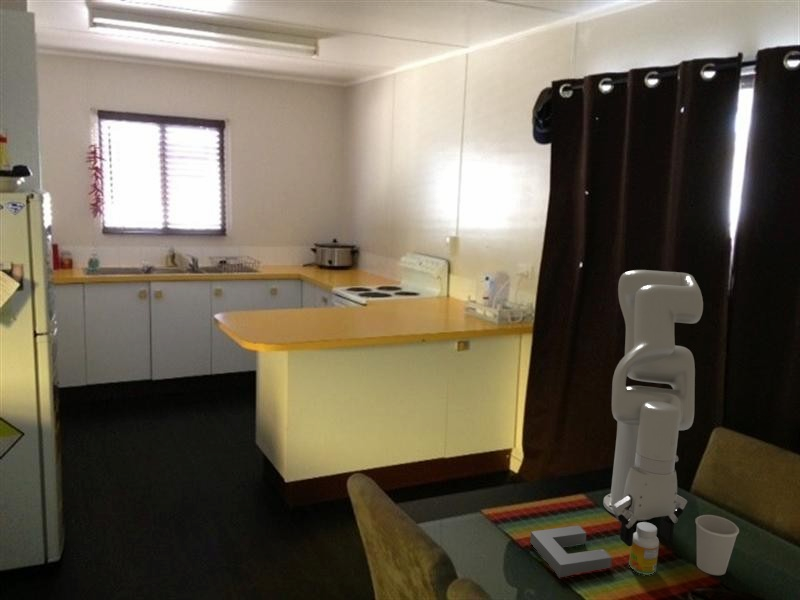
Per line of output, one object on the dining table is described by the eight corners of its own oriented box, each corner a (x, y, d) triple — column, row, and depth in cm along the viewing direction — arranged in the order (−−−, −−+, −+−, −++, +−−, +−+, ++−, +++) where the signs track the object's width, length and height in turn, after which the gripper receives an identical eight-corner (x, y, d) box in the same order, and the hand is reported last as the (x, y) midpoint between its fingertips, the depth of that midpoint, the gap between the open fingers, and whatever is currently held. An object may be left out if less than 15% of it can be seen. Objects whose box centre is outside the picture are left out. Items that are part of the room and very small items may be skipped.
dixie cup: (711, 553, 147) (717, 512, 145) (742, 575, 139) (748, 532, 137) (681, 559, 144) (686, 517, 142) (710, 582, 136) (716, 537, 135)
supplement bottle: (624, 561, 143) (629, 520, 141) (648, 561, 143) (653, 519, 141) (635, 576, 137) (640, 533, 136) (660, 576, 138) (665, 533, 136)
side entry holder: (577, 537, 151) (578, 525, 151) (610, 570, 139) (611, 557, 139) (530, 543, 148) (531, 531, 148) (559, 578, 136) (560, 565, 135)
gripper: (677, 452, 141) (669, 527, 144) (607, 458, 136) (599, 535, 139) (703, 466, 134) (693, 545, 137) (629, 473, 129) (620, 554, 132)
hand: (646, 540), depth 138 cm, fingers open, 9 cm apart
